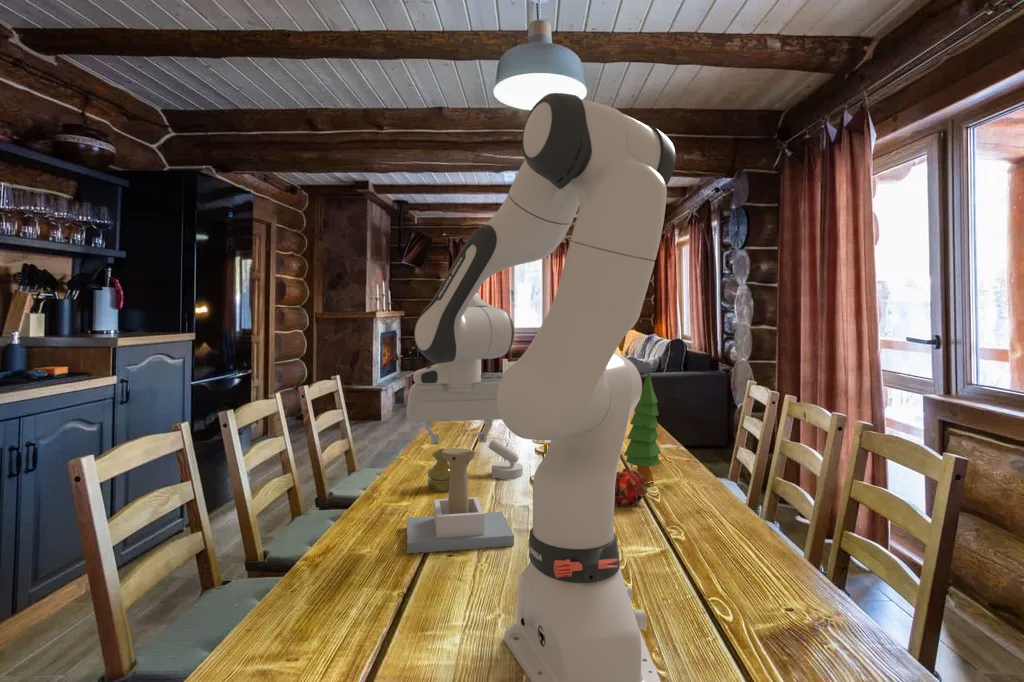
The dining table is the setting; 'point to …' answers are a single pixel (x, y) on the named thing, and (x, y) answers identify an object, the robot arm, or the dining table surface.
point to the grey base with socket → (458, 529)
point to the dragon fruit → (629, 487)
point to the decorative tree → (644, 433)
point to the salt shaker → (439, 473)
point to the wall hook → (505, 468)
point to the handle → (458, 478)
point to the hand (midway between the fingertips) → (458, 442)
